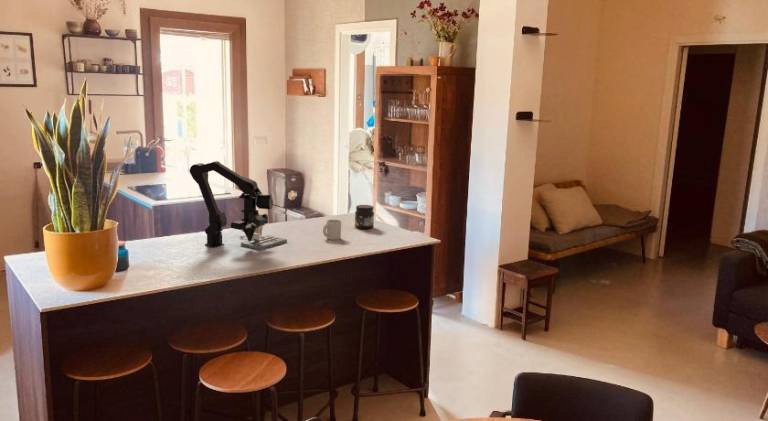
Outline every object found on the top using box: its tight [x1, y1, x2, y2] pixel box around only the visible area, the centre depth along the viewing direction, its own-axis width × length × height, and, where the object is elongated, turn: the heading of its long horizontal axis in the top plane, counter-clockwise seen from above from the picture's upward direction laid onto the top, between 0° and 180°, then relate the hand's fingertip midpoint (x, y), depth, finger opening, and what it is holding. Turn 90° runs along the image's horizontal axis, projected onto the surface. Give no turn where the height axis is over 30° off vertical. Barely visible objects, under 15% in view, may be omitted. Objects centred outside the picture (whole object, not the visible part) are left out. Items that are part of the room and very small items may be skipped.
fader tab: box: [252, 233, 263, 243], centre depth 286 cm, size 2×4×4 cm, turn 58°
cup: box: [322, 219, 342, 241], centre depth 306 cm, size 7×10×9 cm
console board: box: [240, 234, 288, 251], centre depth 291 cm, size 19×12×2 cm, turn 148°
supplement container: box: [354, 204, 375, 231], centre depth 332 cm, size 10×10×12 cm
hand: (249, 240), depth 282 cm, fingers closed
